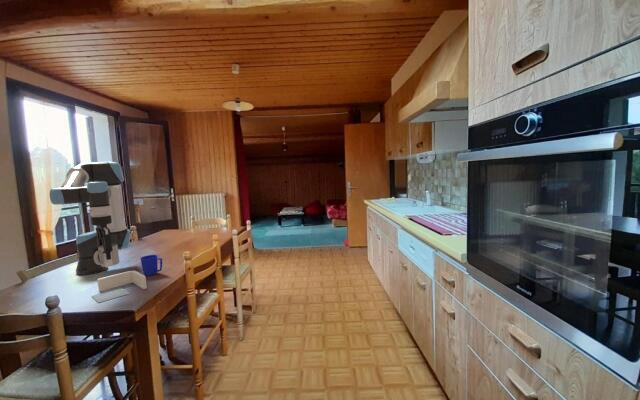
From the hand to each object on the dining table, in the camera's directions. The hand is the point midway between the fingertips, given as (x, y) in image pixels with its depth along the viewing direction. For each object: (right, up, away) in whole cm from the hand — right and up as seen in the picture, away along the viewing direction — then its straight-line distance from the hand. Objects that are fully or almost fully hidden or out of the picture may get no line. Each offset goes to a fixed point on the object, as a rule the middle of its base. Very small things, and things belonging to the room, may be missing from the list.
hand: (106, 264), depth 136 cm
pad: (+1, -15, +1) cm, 15 cm away
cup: (0, 0, 0) cm, 1 cm away
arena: (+2, -14, +8) cm, 16 cm away
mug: (+5, -12, +29) cm, 32 cm away
